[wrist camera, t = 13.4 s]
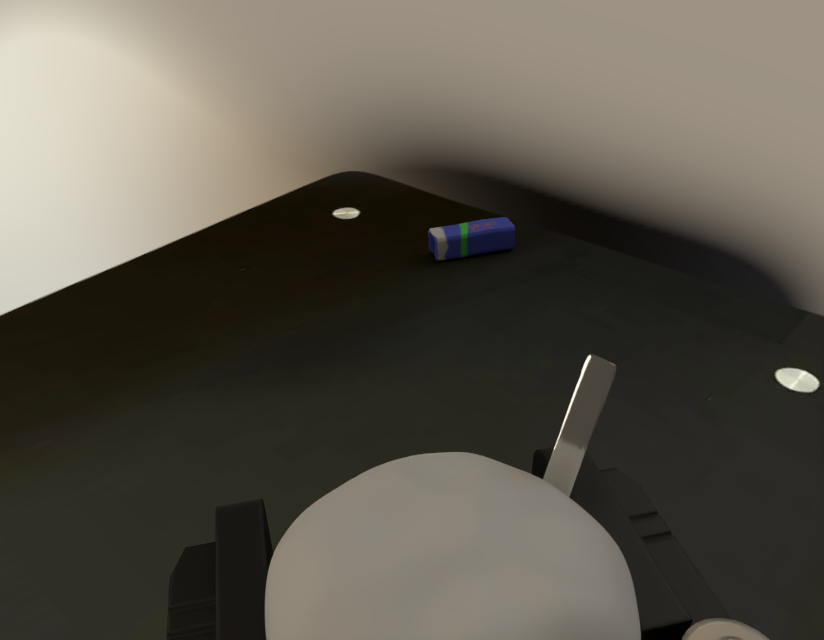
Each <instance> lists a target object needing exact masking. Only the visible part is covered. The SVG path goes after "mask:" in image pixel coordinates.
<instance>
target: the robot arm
mask: <svg viewBox="0 0 824 640" xmlns="http://www.w3.org/2000/svg"><path fill="white" fill-rule="evenodd" d="M553 448H554V447H551V448H545V449H539V450H536V451H535V453H534V456H533V466H532V475H534V476H536V477H539V478H541V479H543V476H544V473H545V470H546V468H547V465H548V462H549V459H550V457H551V454H552V451H553ZM570 498H571V499H572V500H573V501H574V502H576V503H577V504H578V505H579V506H580V507H582V508H583V509H584V510H585V511H586V512H587V513H589V514H590V515H591V516H592V517H593V518H594V519H595V520H596V521H597V522H598V523H599V524H600V525H601V526H602V527H603V528H604V529H605V530H606V531H607V532H608V533H609V535H610V536H611V537H612V538H613V540H614V541H615V542H616V544H617V545H618V547H619V549H620V550H621V552H622V554H623V556H624V558H625V560H626V563H627V566H628V568H629V571H630V574H631V577H632V581H633V585H634V590H635V596H636V601H637V607H638V613H639V620H640V630H641V640H769V639H768V638H767V637H766V636H764V635H763V634H761V633H760V632H759V631H757V630H755V629H754V628H752V627H750V626H748V625H746V624H743V623H741V622H738V621H734V620H733V619H732V618H731V617H730V616H729V615H728V613H727V612H726V611H725V609H724V608H723V607H722V605H721V604H720V602H719V601H718V599H717V598H716V596H715V595H714V593H713V592H712V590H711V589H710V587H709V586H708V585H707V583H706V582H705V580H704V579H703V577H702V576H701V574H700V573H699V571H698V570H697V568H696V567H695V565H694V564H693V562H692V561H691V560H690V558H689V557H688V555H687V554H686V552H685V551H684V549H683V548H682V546H681V545H680V543H679V542H678V540H677V539H676V538H675V536H674V537H673V536H672V534H671V530H670V529H669V527H668V526H667V524H666V523H665V521H664V520H663V518H662V517H661V516H658V513H657V510H656V508H655V507H654V505H653V504H652V502H651V501H650V499H649V498H648V496H647V495H646V493H645V492H644V491H643V489H642V488H641V486H639V485H638V484H637V483H635V482H634V481H633V480H631V479H630V478H629V477H627V476H626V475H624V474H623V473H622V472H620V471H619V470H618V469H616V468H609V469H604V470H598V468H597V467H596V465H595V463H594V462H593V460H592V459H591V457H590V455H589V454H588V452H586V455H585V457H584V460H583V463H582V465H581V468H580V471H579V474H578V476H577V479H576V482H575V484H574V487H573V490H572V493H571V495H570ZM272 557H273V549H272V544H271V539H270V533H269V528H268V523H267V517H266V512H265V507H264V502H263V499H258V500H252V501H247V502H241V503H236V504H230V505H225V506H219V507H216V542H212V543H207V544H201V545H196V546H191V547H186V548H185V549H184V551H183V553H182V555H181V557H180V559H179V561H178V563H177V565H176V567H175V569H174V570H173V572H172V574H171V576H170V583H169V600H168V612H169V615H168V617H167V633H166V635H167V640H266V631H265V591H266V581H267V575H268V570H269V566H270V562H271V559H272Z"/></svg>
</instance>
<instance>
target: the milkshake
mask: <svg viewBox="0 0 824 640" xmlns="http://www.w3.org/2000/svg"><path fill="white" fill-rule="evenodd" d="M615 372H616V365H615V364H613V363H611V362H609V361H607V360H605V359H602V358H600V357H598V356H595V355H593V354H589V355H588V356H587V358H586V360H585V362H584V365H583V368H582V370H581V373H580V376H579V379H578V381H577V384H576V387H575V390H574V393H573V395H572V398H571V401H570V404H569V406H568V409H567V412H566V415H565V418H564V420H563V423H562V426H561V429H560V431H559V434H558V437H557V440H556V443H555V445H554V448H553V451H552V454H551V457H550V459H549V462H548V465H547V468H546V470H545V473H544V476H543V479H541V478H539V477H536V476H534V475H532V474H530V473H527V472H525V471H522V470H519V469H517V468H514V467H511V466H509V465H506V464H503V463H501V462H498V461H495V460H493V459H490V458H487V457H484V456H480V455H477V454H472V453H466V452H446V453H430V454H421V455H415V456H409V457H405V458H401V459H397V460H394V461H391V462H388V463H385V464H382V465H379V466H377V467H375V468H372V469H370V470H368V471H366V472H364V473H362V474H360V475H358V476H357V477H355V478H353V479H351V480H350V481H348V482H346V483H344V484H343V485H341V486H340V487H338V488H336V489H335V490H333V491H332V492H330V493H328V494H327V495H325V496H324V497H322V498H321V499H319V500H318V501H316V502H315V503H314V504H312V505H311V506H310V507H309V508H307V509H306V510H305V511H304V512H303V513H302V514H301V515H300V516H299V517H298V518H297V519H296V520H295V521H294V522H293V524H292V525H291V526H290V527H289V529H288V530H287V531H286V533H285V534H284V536H283V537H282V539H281V540H280V542H279V544H278V546H277V547H276V550H275V552H274V554H273V557H272V559H271V562H270V566H269V570H268V575H267V581H266V591H265V631H266V640H641V630H640V620H639V613H638V607H637V601H636V596H635V590H634V585H633V581H632V577H631V574H630V571H629V568H628V566H627V563H626V560H625V558H624V556H623V554H622V552H621V550H620V549H619V547H618V545H617V544H616V542H615V541H614V540H613V538H612V537H611V536H610V535H609V533H608V532H607V531H606V530H605V529H604V528H603V527H602V526H601V525H600V524H599V523H598V522H597V521H596V520H595V519H594V518H593V517H592V516H591V515H590V514H589V513H587V512H586V511H585V510H584V509H583V508H582V507H580V506H579V505H578V504H577V503H576V502H574V501H573V500H572V499H571V498H570V495H571V493H572V490H573V487H574V484H575V482H576V479H577V476H578V474H579V471H580V468H581V465H582V463H583V460H584V457H585V455H586V452H587V449H588V446H589V444H590V441H591V438H592V436H593V433H594V430H595V428H596V425H597V422H598V419H599V417H600V414H601V411H602V409H603V406H604V403H605V400H606V398H607V395H608V392H609V390H610V387H611V384H612V381H613V378H614V376H615Z"/></svg>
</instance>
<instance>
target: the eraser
mask: <svg viewBox="0 0 824 640" xmlns="http://www.w3.org/2000/svg"><path fill="white" fill-rule="evenodd" d="M514 240H515V226H514V225H513V224H512V222H511V221H510V220H509V219H508V218H506V217H503V218H493V219H484V220H478V221H473V222H467V223H462V224H457V225H452V226H445V227H437V228H431V229H429V249H430V251H431V252H433V253H434V254H435V259H436V261H442V260H449V259H456V258H462V257H467V256H472V255H477V254H483V253H490V252H496V251H502V250H510V249H512V248H513V247H514Z"/></svg>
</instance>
